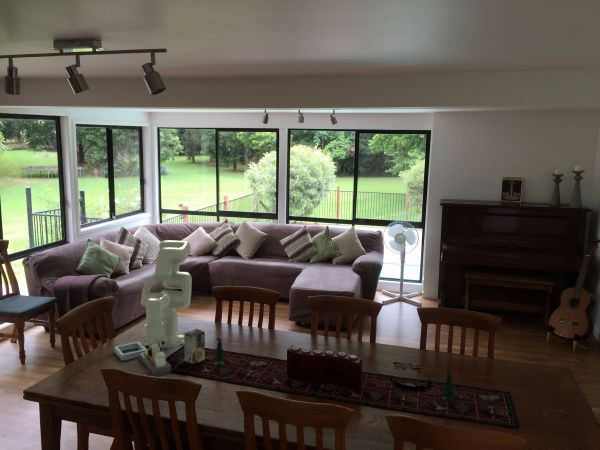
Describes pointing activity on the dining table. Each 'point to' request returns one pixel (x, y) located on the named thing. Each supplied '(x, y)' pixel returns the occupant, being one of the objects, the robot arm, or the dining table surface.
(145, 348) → the back fuse
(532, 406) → the dining table surface
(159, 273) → the robot arm
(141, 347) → the slate tray
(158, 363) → the front fuse
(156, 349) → the orange fuse
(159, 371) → the gray rectangular tray
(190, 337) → the coffee box
